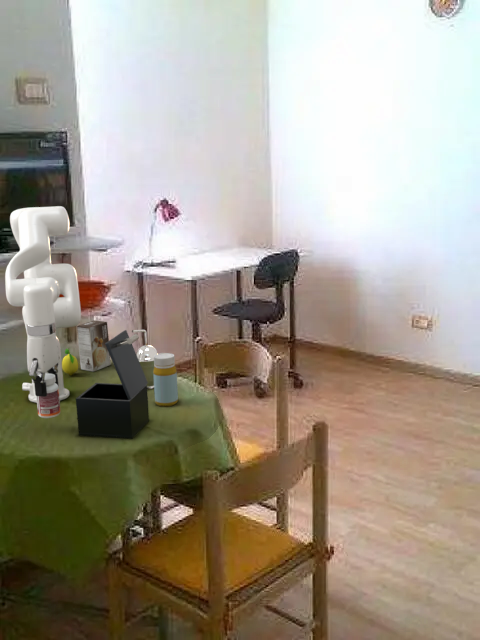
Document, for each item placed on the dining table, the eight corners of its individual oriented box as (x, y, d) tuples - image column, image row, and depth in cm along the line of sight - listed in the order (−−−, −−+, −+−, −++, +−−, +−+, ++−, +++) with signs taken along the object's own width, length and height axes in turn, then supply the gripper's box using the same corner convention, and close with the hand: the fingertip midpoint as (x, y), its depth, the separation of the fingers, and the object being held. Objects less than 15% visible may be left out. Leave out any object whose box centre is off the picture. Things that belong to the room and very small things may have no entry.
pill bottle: (65, 414, 217) (61, 376, 214) (45, 420, 213) (41, 381, 210) (53, 408, 221) (49, 371, 218) (33, 414, 217) (30, 376, 214)
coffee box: (97, 362, 281) (94, 319, 277) (111, 365, 278) (108, 321, 274) (80, 369, 274) (76, 325, 270) (93, 372, 270) (90, 327, 266)
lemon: (66, 372, 271) (64, 344, 269) (82, 372, 270) (80, 345, 268) (58, 378, 265) (56, 349, 262) (74, 378, 264) (72, 350, 261)
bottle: (174, 407, 233) (171, 359, 229) (152, 406, 234) (149, 358, 231) (180, 399, 240) (178, 352, 236) (159, 398, 241) (156, 352, 237)
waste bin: (78, 435, 213) (75, 398, 211) (98, 418, 226) (95, 382, 224) (132, 439, 210) (129, 401, 207) (149, 420, 223) (147, 385, 220)
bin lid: (104, 343, 205) (123, 337, 203) (123, 330, 218) (141, 324, 216) (128, 400, 207) (146, 394, 206) (145, 384, 220) (163, 378, 219)
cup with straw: (164, 388, 250) (161, 328, 246) (137, 392, 247) (133, 331, 243) (158, 381, 258) (154, 322, 253) (131, 384, 255) (127, 325, 250)
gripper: (43, 320, 219) (49, 380, 224) (12, 337, 203) (19, 402, 208) (68, 321, 218) (73, 381, 222) (39, 338, 201) (45, 403, 206)
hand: (47, 390), depth 215 cm, fingers closed on pill bottle, 6 cm apart
